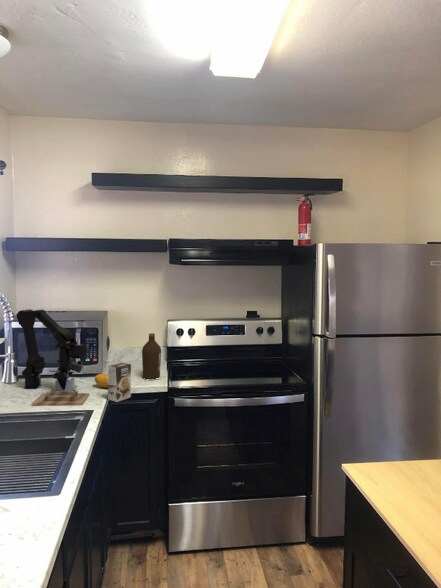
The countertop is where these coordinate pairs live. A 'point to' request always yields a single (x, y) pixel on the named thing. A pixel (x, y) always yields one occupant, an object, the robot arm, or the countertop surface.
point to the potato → (102, 380)
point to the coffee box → (119, 382)
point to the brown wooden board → (61, 398)
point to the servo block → (69, 385)
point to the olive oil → (151, 358)
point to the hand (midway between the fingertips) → (65, 388)
